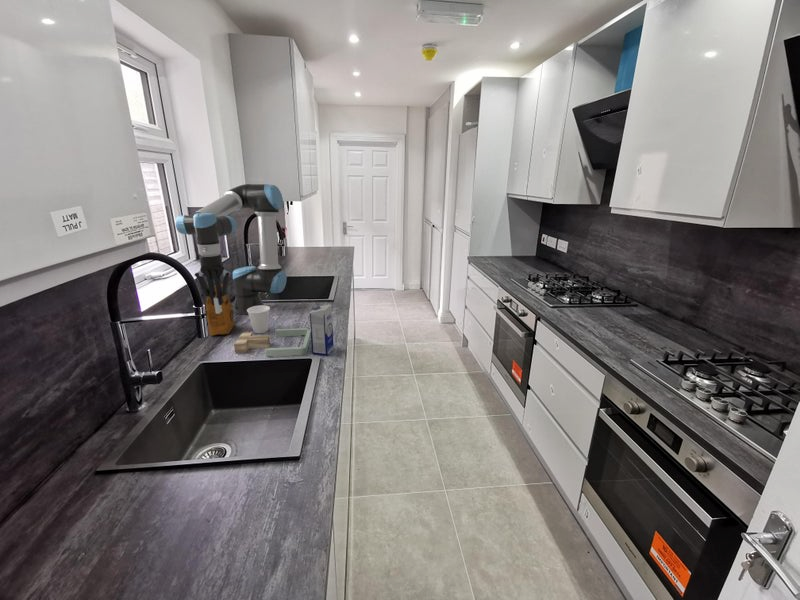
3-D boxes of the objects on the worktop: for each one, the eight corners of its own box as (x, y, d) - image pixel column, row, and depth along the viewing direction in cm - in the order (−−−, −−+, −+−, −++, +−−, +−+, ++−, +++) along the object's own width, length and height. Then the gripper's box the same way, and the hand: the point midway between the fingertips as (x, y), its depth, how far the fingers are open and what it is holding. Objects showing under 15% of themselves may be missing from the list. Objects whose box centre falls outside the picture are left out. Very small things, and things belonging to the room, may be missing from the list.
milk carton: (327, 356, 143) (324, 309, 136) (311, 354, 144) (308, 308, 138) (334, 348, 149) (331, 303, 143) (318, 347, 151) (316, 302, 144)
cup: (276, 327, 170) (273, 305, 166) (266, 336, 160) (264, 313, 157) (256, 326, 170) (253, 304, 167) (245, 334, 161) (242, 312, 158)
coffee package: (238, 325, 171) (232, 281, 164) (229, 336, 160) (222, 289, 153) (216, 326, 170) (209, 281, 163) (206, 337, 159) (198, 289, 152)
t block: (243, 340, 155) (242, 332, 154) (272, 339, 157) (271, 331, 156) (235, 353, 144) (234, 344, 143) (266, 352, 146) (265, 343, 144)
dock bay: (276, 335, 161) (276, 329, 160) (311, 334, 163) (311, 328, 162) (266, 357, 141) (265, 350, 140) (306, 355, 143) (305, 348, 142)
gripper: (187, 256, 132) (198, 316, 139) (224, 256, 134) (233, 315, 141) (196, 252, 139) (205, 309, 146) (231, 252, 141) (238, 308, 148)
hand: (218, 312), depth 144 cm, fingers closed
